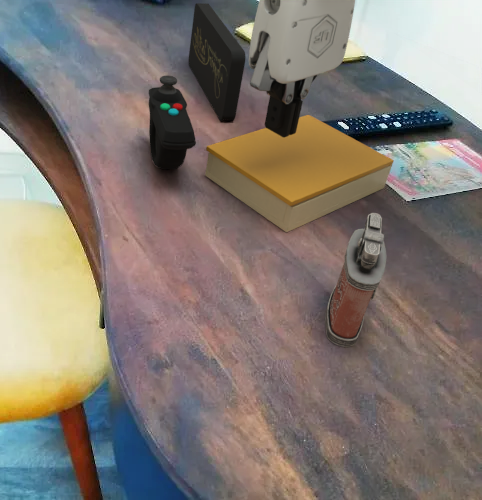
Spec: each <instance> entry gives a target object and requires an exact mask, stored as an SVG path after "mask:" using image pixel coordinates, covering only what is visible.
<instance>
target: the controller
mask: <svg viewBox="0 0 482 500" xmlns="http://www.w3.org/2000/svg"><path fill="white" fill-rule="evenodd" d="M159 83H161V86H157V87H151V88H149V89H148V97H149V98H148V110H149V126H148V127H149V129H148V134H149V135H148V136H149V151H150V157H151V160H152V163H153V165H154V166H155V167H156V168H157V169H161V170H174V169H175V170H176V169H178V168H180V167H181V166H182V165H183V164H184V162H185V159H186V157H187V152H188V150H190V149H192V148H194V147H195V146H196V145H197V140H196V135H195V130H194V127H193V124H192V122H191V119H190V117H189V114H188V110H187V107H188V103H187V101H186V98H185V97H184V95H183V93H182V91H180V89H179V88H176V87H175V85H177V83H178V79H177V78H176V76H173V75H162V76H161V77H160V78H159Z"/></svg>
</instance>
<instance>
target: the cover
mask: <svg viewBox="0 0 482 500" xmlns="http://www.w3.org/2000/svg"><path fill="white" fill-rule="evenodd" d="M205 151H207V152H208V153H209V152H210V153H211V154H213V155H214V156H216V157H217V158H219V159H220V160H222V161H223V162H225V163H226V164H228V165H229V166H231V167H232V168H234V169H235V170H237V171H238V172H240V173H241V174H243V175H244V176H246V177H247V178H249V179H250V180H252V181H253V182H255V183H256V184H258V185H259V186H261V187H262V188H264V189H265V190H267V191H268V192H270V193H271V194H273V195H274V196H276V197H277V198H279V199H280V200H282V201H283V202H285V203H286V204H288V205H289V206H293V205H295V204H297V203H300V202H302V201H305V200H307V199H310V198H312V197H314V196H317V195H319V194H322V193H324V192H327V191H329V190H331V189H334V188H336V187H339V186H341V185H344V184H346V183H349V182H351V181H353V180H356V179H358V178H361V177H363V176H366V175H368V174H370V173H373V172H375V171H378V170H380V169H383V168H385V167H387V166H390V165H392V166H393V164H394V159H392V158H390V157H388V156H386V155H385V154H383V153H381V152H380V151H377V150H376V149H374V148H373V147H372V148H371V147H370V146H368V145H366V144H364V143H363V142H361V141H358V140H356V139H355V138H353V137H351V136H349V135H348V134H346V133H344V132H342V131H340V130H338V129H337V128H334V127H332V126H331V125H329V124H327V123H325V122H323V121H321V120H320V119H318V118H316V117H314V116H312V115H310V114H307V115H303V116H299V121H298V125H297V130H296V133H295V134H293V135H289V136H287V137H282V136H280V135H278V134H276V133H274V132H273V131H271V130H269V129H267V128H266V127H264V128H261V129H258V130H254V131H251V132H248V133H244V134H241V135H238V136H235V137H231V138H227V139H225V140H221V141H218V142H216V143H211V144H209V145H206V148H205Z"/></svg>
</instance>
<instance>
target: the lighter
mask: <svg viewBox="0 0 482 500" xmlns="http://www.w3.org/2000/svg"><path fill="white" fill-rule="evenodd" d="M382 221H383V217H382V216H381V214H379V213H376V212H371V213H368V215H367V218H366V221H365V223H364V224H365V225H364V228H358V229H355V230H354V231H353V233H352V235H351V237H350V238H349V240H348V243H347V246H346V250H345V253H344V263H343V265H342V268H341V271H340V274H339V277H338V280H337V283H336V284H335V286H334V288H333V290H332V291H331V294H330V296H329V300H328V302H327V306H326V309H325V315H324V316H325V319H324V324H325V325H324V326H325V333H326V338H327V339H328V340H329V341H330V342H331V343H332V344H334V345H337V346H339V347H344V348H347V347H348V348H349V347H352V346H354V345H355V344H356V342H357V341H358V338H359V336H360V333H361V330H362V328H363V324H364V320H365V315H366V312H367V309H368V306H369V304H370V301H373V299H374V297H375V295H376V293H377V290H378V288H379V285H380V283H381V281H382V278H383V275H384V273H385V270H386V265H387V249H386V243H385V241H384V240H385V233H382V224H383V223H382Z"/></svg>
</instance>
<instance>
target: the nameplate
mask: <svg viewBox="0 0 482 500" xmlns="http://www.w3.org/2000/svg"><path fill="white" fill-rule="evenodd" d="M190 35H191V36H190V42H189V43H190V44H189V51H188V52H189V53H188V66H189V68H190V70H191V71H192V72H191V73H193V75H194V77H195V79H196V81H197V82H198V84H199V86H200V88H201V90H202V91H203V93H204V95H205V97H206V99H207V100H208V102H209V104H210V106H211V108H212V109H213V111H214V113H215V114H216V117H217V118H218V120H219V121H235V119H236V116H237V110H238V104H239V99H240V93H241V88H242V83H243V78H244V72H245V71H244V70H245V65H246V52H245V49H243V47H242V46H241V44H240V42H238V41H237V39H236V38H235V36H234V35H233V34H232V33H231V31H230V30H229V29H228V27H227V26H226V25H225V23H224V22H223V20H222V19H221V18H220V16H219V15H218V14H217V13H216V11H215V10H214V8H213V7H212V6H211V5H210V3H199V2H198V3H195V5H194V10H193V18H192V26H191V34H190Z"/></svg>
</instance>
